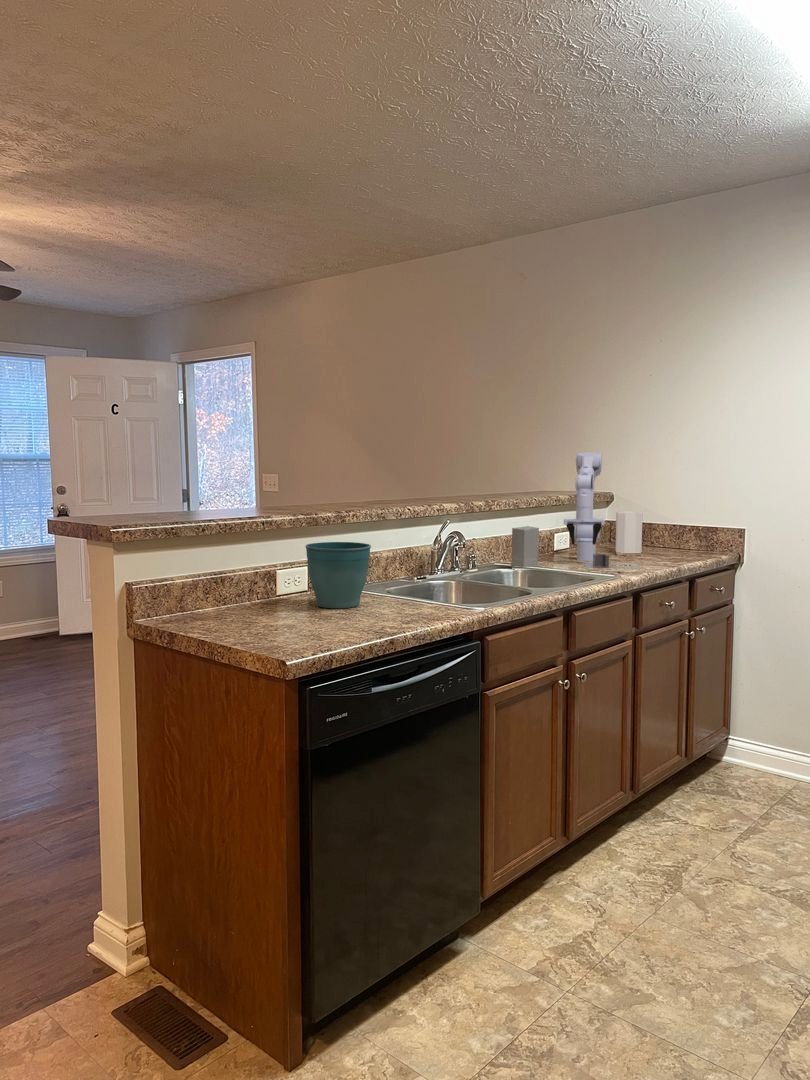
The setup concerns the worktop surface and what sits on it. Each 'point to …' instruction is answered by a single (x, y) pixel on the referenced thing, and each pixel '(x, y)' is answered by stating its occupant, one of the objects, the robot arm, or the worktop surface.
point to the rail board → (634, 566)
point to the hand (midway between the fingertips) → (583, 544)
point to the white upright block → (629, 531)
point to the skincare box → (525, 546)
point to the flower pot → (338, 572)
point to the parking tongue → (566, 563)
